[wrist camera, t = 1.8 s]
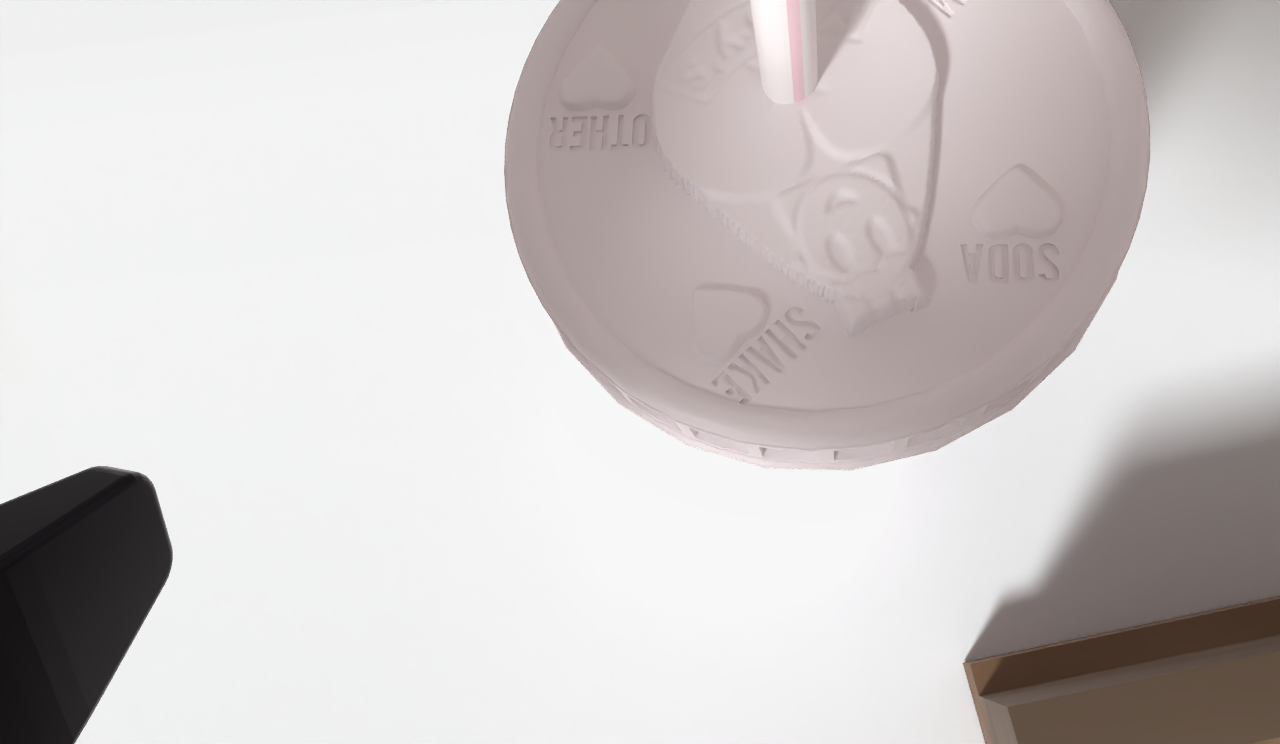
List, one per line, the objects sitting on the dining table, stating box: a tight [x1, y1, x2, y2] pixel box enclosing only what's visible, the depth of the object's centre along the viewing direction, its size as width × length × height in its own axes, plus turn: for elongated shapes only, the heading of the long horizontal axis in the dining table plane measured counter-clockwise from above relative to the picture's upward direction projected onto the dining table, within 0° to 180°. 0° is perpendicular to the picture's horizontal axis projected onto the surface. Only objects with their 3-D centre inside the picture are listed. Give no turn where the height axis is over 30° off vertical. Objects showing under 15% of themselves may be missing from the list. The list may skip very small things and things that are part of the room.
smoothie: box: [504, 0, 1150, 470], centre depth 13 cm, size 6×6×14 cm
